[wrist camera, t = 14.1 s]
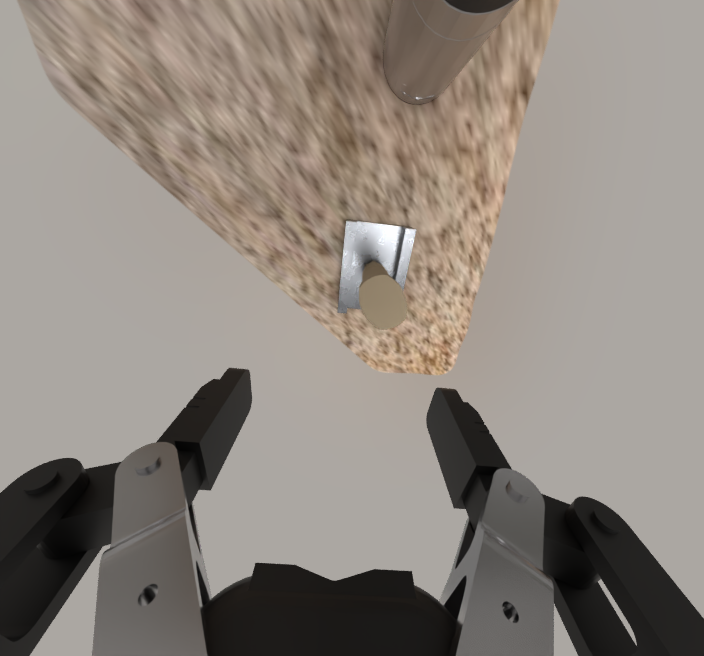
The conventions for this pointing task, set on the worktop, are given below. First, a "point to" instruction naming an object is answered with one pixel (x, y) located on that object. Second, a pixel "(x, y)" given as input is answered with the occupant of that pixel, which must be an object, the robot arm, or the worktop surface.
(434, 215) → the worktop surface
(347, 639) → the robot arm
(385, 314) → the handle
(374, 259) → the floor track
